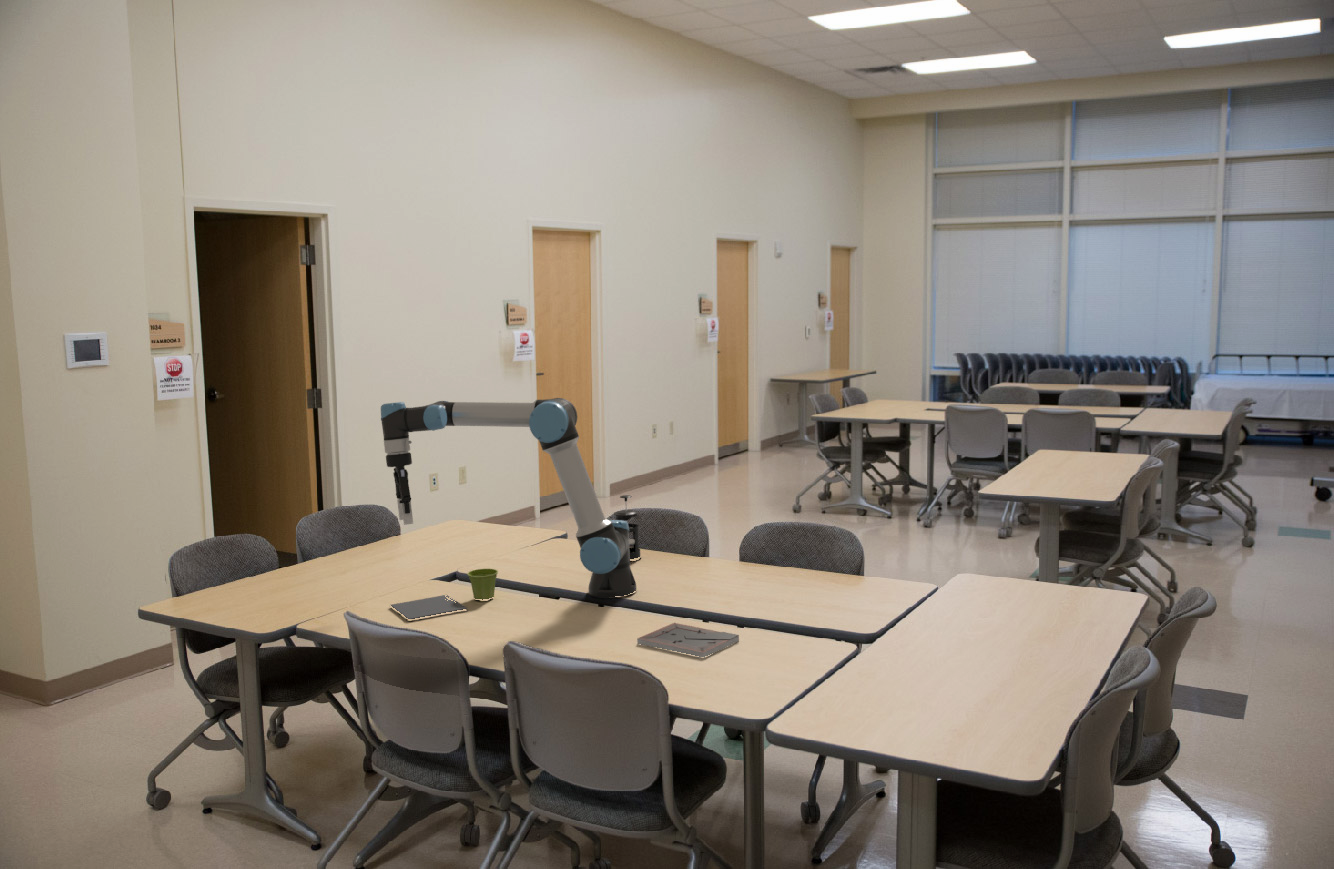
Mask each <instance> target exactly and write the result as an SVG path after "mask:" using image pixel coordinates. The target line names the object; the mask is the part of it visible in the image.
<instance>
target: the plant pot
mask: <svg viewBox="0 0 1334 869" xmlns="http://www.w3.org/2000/svg"><path fill="white" fill-rule="evenodd" d="M466 574H467V576H468V578H469V580H470V585H471V590H472V595H473V599H474V598H475V599H482V600H483V599H489V598H492V597H494V598H495V591H496V590H495V589H496V588H495V587H496V579H497V576H498V574H499V571H498V570H497V569H495V568H477V569H472V570H470V571H468V572H467V573H466Z"/></svg>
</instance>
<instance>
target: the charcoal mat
mask: <svg viewBox="0 0 1334 869" xmlns="http://www.w3.org/2000/svg"><path fill="white" fill-rule="evenodd" d="M445 595H447V596H446V597H448V598H449V597H450V596H449V595H448V594H442V595H437V596H431V597H426V598H422V599H421V598H420V599H414V600H410V601H403V602H399V603H394V604H390V605H391V606H392V607H393V608H395V609H396V610H397V611H399V612H400V613H401V614H403V615H404V616H405V617H406V618H408V619H415V618H420V617H425V616H431V615H436V614H441V613H446V612H452V611H457V610H463V609H467V610H468V607H466V606H465V605H463V604H462V603H460V602H459V601H457V600H456V599H454V598H452V597H451V598H452V599H451V598H450V599H451V600H453V599H454V600H453V601H451V600H448V599H447V598H446V597H445ZM445 599H446V600H445ZM447 600H448V601H447ZM455 600H456V601H455ZM454 601H455V602H456V603H455V602H454Z"/></svg>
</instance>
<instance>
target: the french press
mask: <svg viewBox="0 0 1334 869" xmlns="http://www.w3.org/2000/svg"><path fill="white" fill-rule="evenodd" d="M619 498H621V499H624V502H625V510H618V511H615V512H613V515H614V520H623V521H626V522H627V523H628V521H629V520H630V519H631V518H632V517H633V518H638V517H639V514H640V513H639V511H638V510H630V509H627V508H628V507H627V502H628V499H630V498H632V496H631V495H629V494H628V495H626V494H624V495H621V496H619ZM628 526H629V533H632V538H629V550H630V559H634V558H638V557H640V556H641V548H640V547H639V542H640V540H639V531H640V528H641V527H640V525H639V524H637V523H628Z"/></svg>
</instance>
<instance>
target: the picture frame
mask: <svg viewBox="0 0 1334 869" xmlns="http://www.w3.org/2000/svg"><path fill="white" fill-rule="evenodd" d="M636 639H637V640H636V642H637V645H638V644H641V645H640V646H643V645H646V646H645V647H647V646H651V647H650V648H652V647H657V648H662V649H667V650H672V651H677V652H681V653H686V654H691V655H695V656H699V657H705V656H708V655H710V654H712V653H714V652H716V651H718V650H720V651H722V650H724V649H726V648H728V647H730V646H732V645H734V644H736V643H738V642H739V641H740V635H739V634H736V633H732V632H726V631H717V630H713V629H707V628H702V627H697V626H692V625H687V624H683V623H678V622H672V623H670V624H668V625H666V626H663V627H661V628H659V629H656V630H653V631H652V632H649V633H647V634H645V635H642V636H639V637H637V638H636ZM737 641H738V642H737ZM735 642H736V643H735ZM733 643H734V644H733ZM731 644H732V645H731ZM729 645H730V646H729ZM727 646H728V647H727ZM725 647H726V648H725ZM723 648H724V649H723ZM721 649H722V650H721ZM718 652H719V651H718ZM716 653H717V652H716ZM714 654H715V653H714ZM712 655H713V654H712ZM710 656H711V655H710ZM708 657H709V656H708Z"/></svg>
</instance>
